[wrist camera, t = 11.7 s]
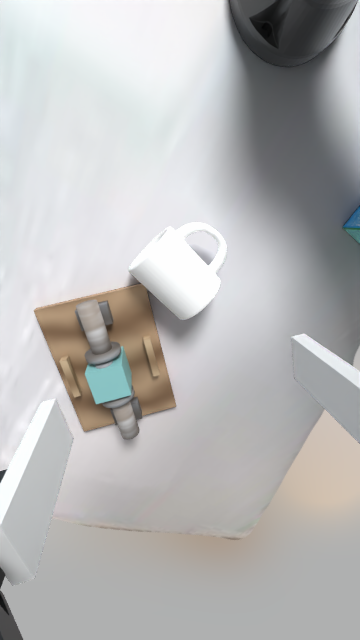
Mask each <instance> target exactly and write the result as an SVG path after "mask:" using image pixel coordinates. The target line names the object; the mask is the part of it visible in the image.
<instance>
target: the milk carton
mask: <svg viewBox="0 0 360 640" xmlns="http://www.w3.org/2000/svg"><path fill="white" fill-rule="evenodd" d="M343 228H344V229H345V230H346V231H347V232H348V233H349V234H350V235H351V236H352V237H353V238H354V239H355V240H356V241H357V242H358V243H359V244H360V206H359V207H358V209H357V210H356V211H355V212H354V214H353V215H352V216H351V217H350V219H349V220H348V221H347V222H346V224H345V225H344V226H343Z"/></svg>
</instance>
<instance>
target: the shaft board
mask: <svg viewBox="0 0 360 640" xmlns="http://www.w3.org/2000/svg"><path fill="white" fill-rule="evenodd" d="M34 312H35V315H36V317H37V320H38V322H39V324H40V327H41V329H42V332H43V334H44V336H45V339H46V341H47V344H48V346H49V348H50V351H51V353H52V356H53V358H54V360H55V363H56V365H57V368H58V370H59V372H60V375H61V377H62V380H63V382H64V384H65V387H66V389H67V392H68V394H69V396H70V399H71V401H72V404H73V406H74V408H75V411H76V413H77V416H78V418H79V420H80V423H81V425H82V428H83V430H84V432H85V431H88V430H92V429H96V428H99V427H103V426H107V425H110V424H114V423H115V425H118V426H119V429H120V432H121V435H122V437H123V438H124V439H127V440H128V439H132V438H134V437H136V436H137V435H138V433H139V427H138V424H137V421H136V420H137V419H141V418H142V416H143V415H147V414H151V413H154V412H158V411H162V410H165V409H169V408H173V407H176V403H175V399H174V395H173V391H172V387H171V383H170V379H169V375H168V372H167V368H166V364H165V360H164V356H163V352H162V348H161V344H160V340H159V336H158V332H157V329H156V325H155V321H154V317H153V313H152V309H151V305H150V301H149V297H148V293H147V289H146V287H145V286H144V285H142V284H136V285H132V286H128V287H124V288H119V289H115V290H111V291H107V292H103V293H98V294H94V295H90V296H86V297H82V298H77V299H73V300H69V301H65V302H61V303H56V304H52V305H48V306H44V307H40V308H36V309H35V310H34ZM121 346H123V347H124V350H125V354H126V357H127V360H128V363H129V366H130V370H131V373H132V386H131V395H130V396H126V397H122V398H119V399H117V400H113V401H107V402H103V403H100V404H96V403H95V400H94V397H93V395H92V392H91V390H90V387H89V384H88V382H87V379H86V376H85V371H86V368H87V365H88V363H89V364H101V363H105V362H107V361H110V360H112V359H114V358H115V357H117V356H118V355H119V354H120V353H121Z"/></svg>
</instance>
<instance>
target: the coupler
mask: <svg viewBox="0 0 360 640" xmlns="http://www.w3.org/2000/svg"><path fill="white" fill-rule="evenodd" d="M85 376H86V379H87V382H88V384H89V387H90V390H91V392H92V395H93V397H94V400H95V403H96V404H100V403H103V402H107V401H113V400H117V399H119V398H122V397H126V396H130V395H131V386H132V373H131V370H130V366H129V363H128V360H127V357H126V354H125V350H124V347H123V346H121V353H120V354H119V355H118V356H117V357H115V358H114V359H112V360H110V361H107V362H105V363H101V364H89V363H88V365H87V368H86V371H85Z"/></svg>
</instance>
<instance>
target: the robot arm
mask: <svg viewBox="0 0 360 640" xmlns="http://www.w3.org/2000/svg"><path fill="white" fill-rule="evenodd" d="M357 1H358V0H230V5H231V10H232V14H233V17H234V21H235V23H236V26H237V28H238V30H239V33H240V34H241V36H242V38H243V40H244V41H245V43H246V44H247V45H248V47H249V48H250V49H251V50H252V51H253V52H254V53H255V54H256V55H257V56H259V57H260V58H261V59H263V60H264V61H266V62H268V63H271V64H273V65H277V66H284V67H291V66H296V65H300V64H303V63H305V62H308V61H309V60H311V59H313V58H314V57H316V56H317V55H318V54H319V53H320V52H322V51H323V50H324V49H325V48H326V47H327V46H328V45H329V44H330V43H332V42H333V40H334V39H335V38H336V37H337V36H338V35H339V34H340V32H341V31H342V30H343V28H344V27H345V25H346V24H347V22H348V20H349V19H350V17H351V15H352V13H353V11H354V9H355V6H356V4H357ZM291 341H292V356H293V370H294V379H295V380H296V381H297V382H298V383H299V384H300V385H301V386H302V387H303V388H304V389H305V390H306V391H307V392H308V393H309V394H310V395H311V396H312V397H313V398H314V399H315V400H316V401H317V402H318V403H319V404H320V405H321V406H322V407H323V408H324V409H325V410H326V411H327V412H329V413H330V415H331V416H333V417H334V418H335V420H336V421H337V422H338V423H340V424H341V425H342V426H343V427H344V429H346V431H348V432H349V433H350V434H351V436H353V438H355V440H357V441H358V442H359V443H360V371H359V370H358V369H356V368H355V367H353V366H352V365H350V364H349V363H347V362H346V361H344V360H343V359H341V358H340V357H338V356H337V355H335V354H334V353H332V352H331V351H329V350H328V349H326V348H325V347H324V346H322V345H321V344H319V343H318V342H316V341H315V340H313V339H312V338H310V337H309V336H307V335H306V334H300V335H296V336H292V337H291ZM73 439H74V438H73V436H72V433H71V431H70V429H69V427H68V424H67V422H66V420H65V418H64V415H63V413H62V411H61V409H60V406H59V404H58V402H57V400H56V399H52V400H48V401H44V402H41V404H40V406H39V408H38V410H37V412H36V414H35V416H34V418H33V420H32V422H31V424H30V426H29V428H28V430H27V432H26V434H25V436H24V437H23V439H22V441H21V443H20V445H19V447H18V449H17V451H16V453H15V455H14V457H13V459H12V461H11V463H10V465H9V467H8V469H7V470H3V471H0V588H1V585H2V582H3V580H4V577H5V576H6V578H7V579H8V581H9V582H10V583H11V585H12V586H13V585H16V584H19V583H23V582H26V581H29V580H33V579H35V577H36V573H37V569H38V566H39V562H40V558H41V555H42V551H43V548H44V543H45V540H46V537H47V533H48V530H49V526H50V522H51V519H52V515H53V512H54V508H55V504H56V501H57V497H58V493H59V490H60V486H61V483H62V479H63V475H64V472H65V468H66V465H67V461H68V457H69V454H70V450H71V446H72V443H73ZM0 640H23V638H22V636H21V634H20V631H19V629H18V626H17V624H16V622H15V620H14V617H13V615H12V613H11V610H10V608H9V606H8V604H7V601H6V599H5V597H4V595H3V593H2V592H1V591H0Z"/></svg>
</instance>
